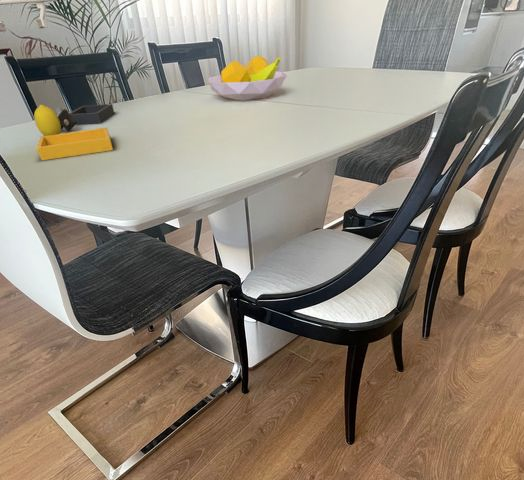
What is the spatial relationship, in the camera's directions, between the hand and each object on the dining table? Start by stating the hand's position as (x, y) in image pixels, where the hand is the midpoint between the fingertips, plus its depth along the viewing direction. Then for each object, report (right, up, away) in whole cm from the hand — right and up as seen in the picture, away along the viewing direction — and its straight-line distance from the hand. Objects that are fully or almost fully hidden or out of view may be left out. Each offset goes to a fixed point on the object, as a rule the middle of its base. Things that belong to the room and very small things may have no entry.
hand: (23, 29), depth 92 cm
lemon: (+3, -22, +8) cm, 24 cm away
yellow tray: (+13, -29, 0) cm, 32 cm away
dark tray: (+5, -5, +26) cm, 27 cm away
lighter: (+2, -16, +15) cm, 22 cm away
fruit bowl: (+53, +10, +40) cm, 67 cm away
